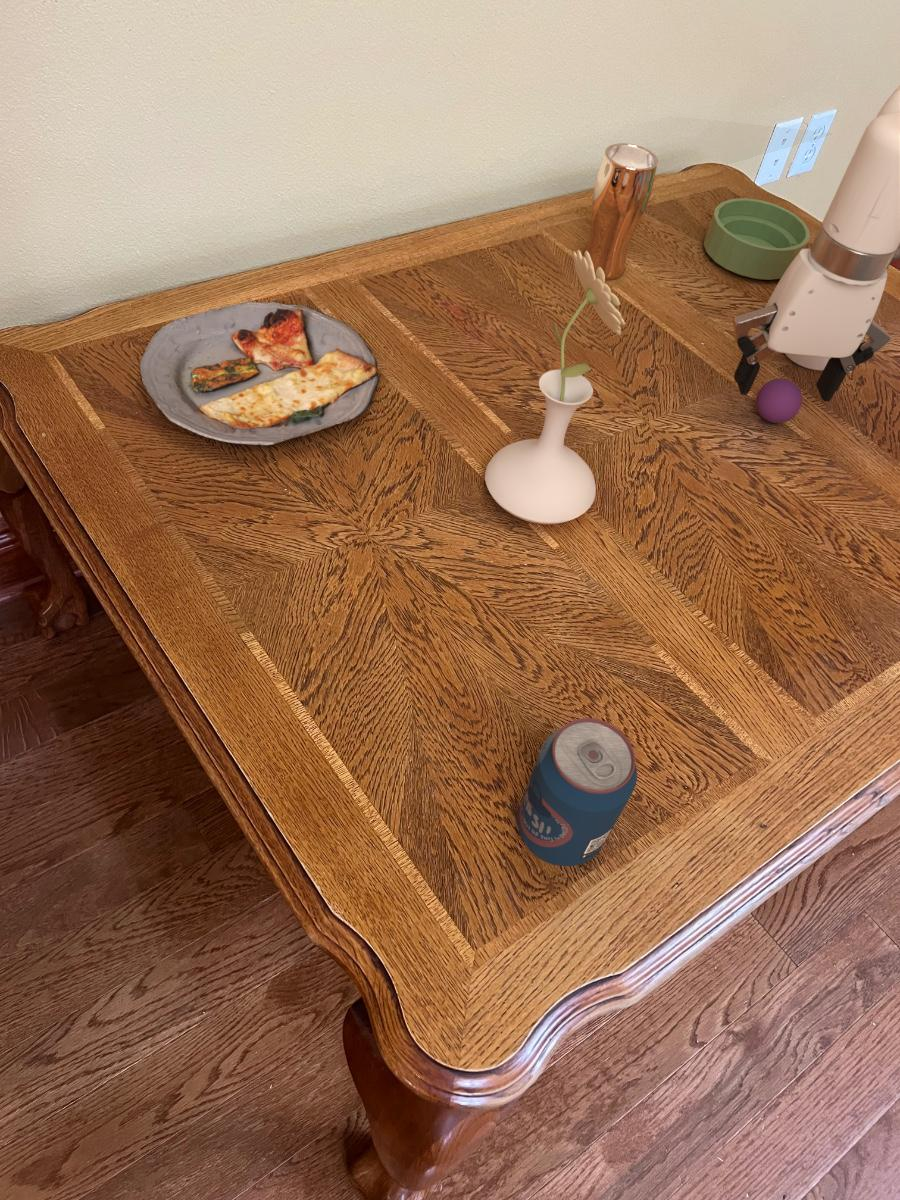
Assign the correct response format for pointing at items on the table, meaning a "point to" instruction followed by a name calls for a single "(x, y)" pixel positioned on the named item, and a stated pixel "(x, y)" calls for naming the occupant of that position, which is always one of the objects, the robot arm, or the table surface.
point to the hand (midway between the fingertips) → (781, 390)
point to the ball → (778, 400)
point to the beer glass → (619, 205)
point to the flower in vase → (555, 430)
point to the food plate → (259, 372)
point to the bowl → (755, 238)
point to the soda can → (577, 791)
